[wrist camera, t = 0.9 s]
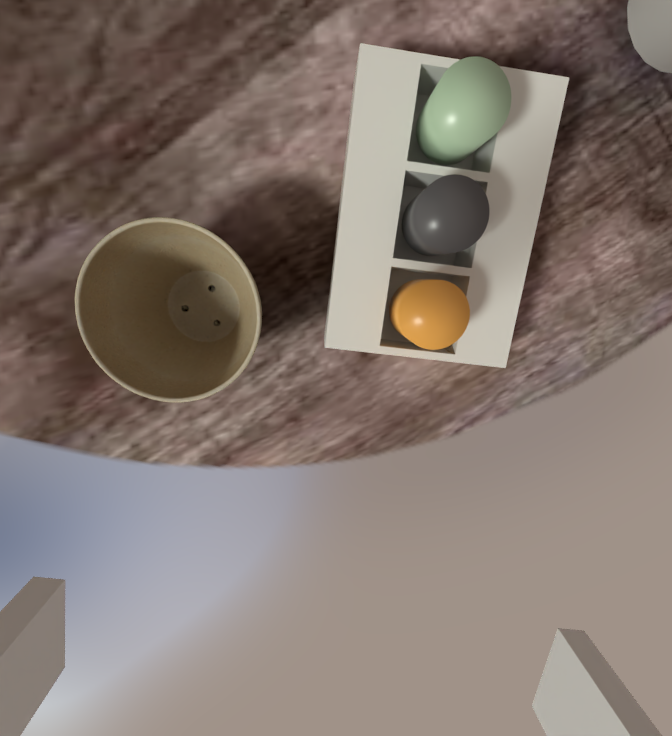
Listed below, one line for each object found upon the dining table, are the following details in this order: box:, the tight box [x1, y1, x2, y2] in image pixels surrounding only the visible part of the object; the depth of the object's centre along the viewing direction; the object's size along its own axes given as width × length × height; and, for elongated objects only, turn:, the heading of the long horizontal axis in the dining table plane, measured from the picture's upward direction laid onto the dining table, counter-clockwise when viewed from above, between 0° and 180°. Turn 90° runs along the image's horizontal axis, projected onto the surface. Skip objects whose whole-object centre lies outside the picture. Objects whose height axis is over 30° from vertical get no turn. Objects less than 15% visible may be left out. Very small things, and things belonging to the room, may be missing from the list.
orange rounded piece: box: [389, 279, 470, 350], centre depth 25 cm, size 4×4×4 cm
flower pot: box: [75, 217, 262, 402], centre depth 25 cm, size 10×10×7 cm
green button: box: [416, 56, 511, 165], centre depth 22 cm, size 4×4×4 cm
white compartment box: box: [324, 43, 569, 368], centre depth 26 cm, size 17×12×4 cm
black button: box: [402, 174, 490, 256], centre depth 24 cm, size 4×4×4 cm
